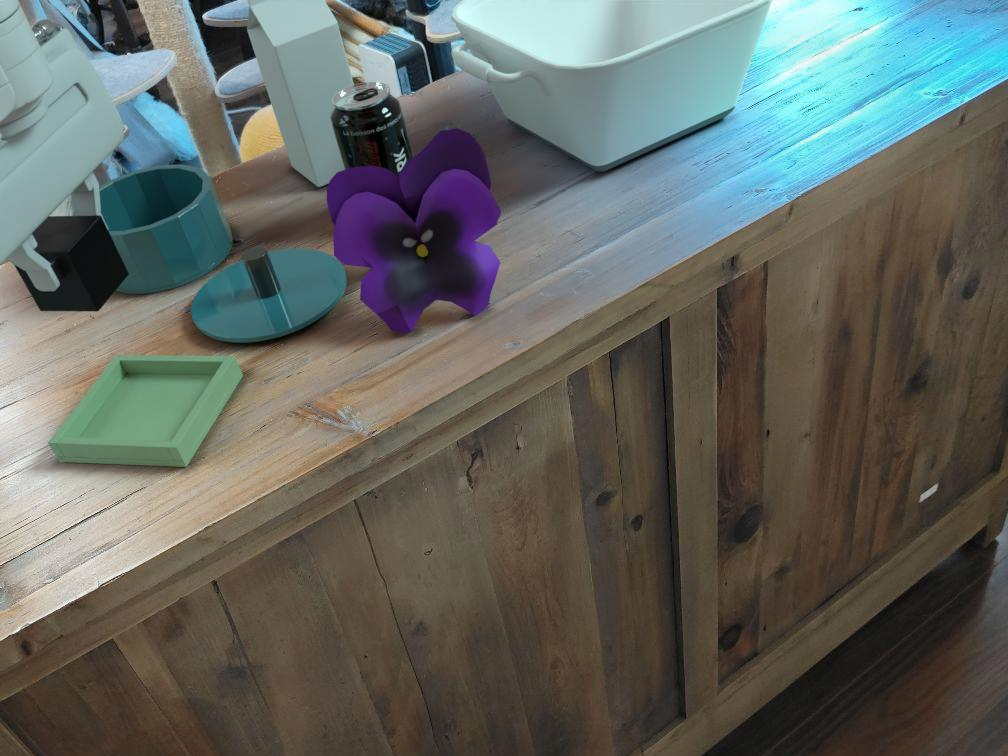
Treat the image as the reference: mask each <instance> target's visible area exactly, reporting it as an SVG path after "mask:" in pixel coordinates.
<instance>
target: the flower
mask: <svg viewBox="0 0 1008 756" xmlns="http://www.w3.org/2000/svg"><path fill="white" fill-rule="evenodd" d="M491 189H492V180H491V175H490V169H489V166H488V162H487V159H486V154H485V153H484V151H483V148H482V147H481V145H480V143H479V141H477V139H476V138H475V137H474V136H473V135H472V134H471V133H470V132H467V131H465V130H463V129H462V128H461V129H460V128H458V127H455V128H449V129H443V130H440V131H439V132H437V134H436V135H435V136H434V137H433V138H432V139H431V140H430V141H429V142H428V143H427V144H426V145H425V146H424V147H423V148H422V149H421V150H420V151H419V152H418V153H416V154H415V155H413V158H411V159H410V160H409V161H407V162H406V163H405V165H404V166H403V168H402V170H401V171H400V173H399V176H398V175H396V174H395V173H393V172H391V171H390V170H388V169H386V168H382V167H376V166H364V167H353V168H349V169H346V170H343V171H340V172H337V173H336V174H335V175H334V176H333V178H332V179H331V180H330V182H329V183H328V184H327V188H326V198H325V199H326V204H327V208H328V213H329V215H330V218H331V221H332V224H333V225H334V228H333V231H332V237H333V239H332V240H333V242H332V243H333V257H335V258H336V259H337V260H339V262H340V263H341V264H342V265H343V266H349V267H359V268H367V269H370V270H369V271H368V272H367V273H366V274H365V275H364V276H363V277H362V278H360V297H359V300H360V301H361V302H362V303H363V304H364V305H365V306H366V307H367V308H368V309H370V310H371V311H372V312H373V313H374V314H375V315H376V316H377V317H378V318H379V319H380V320H382V322H384V324H385V325H386V326H387V327H388V329H390V330H391V332H393V333H399V334H410V333H412V332H413V330H414V328H415V326H416V324H417V322H418V320H419V318H420V317H421V316H422V313H423V312H424V310H425V309H426V308H428V307H429V306H431V305H432V304H433V303H434V302H435V301H440V302H441V301H442V302H448V303H452V304H453V305H456V306H458V307H459V308H461V309H463V310H464V311H466V312H467V313H469V314H470V315H472V316H476V315H479V314H481V313H482V312H483V311H484V310H485V309H486V308H487V307H489V304H490V299H491V293H492V291H493V289H494V285H495V282H496V280H497V276H498V272H499V269H500V266H501V261H500V259H499V258H498V256H497V255H496V253H495V252H494V250H493V248H492V247H491V245H489V244H485V243H482V242H479V241H477V240H478V239H480V238H481V237H482V236H483V235H485V234H486V233H488V232H489V231H490V230H492V229H493V228H495V227H496V226H497V225H498V223H499V219H500V216H501V213H502V210H501V208H500V206H499V205H498V202H497V200H496V198H495V197H494V195H493V192H492V191H491Z"/></svg>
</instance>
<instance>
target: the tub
mask: <svg viewBox="0 0 1008 756" xmlns="http://www.w3.org/2000/svg"><path fill="white" fill-rule="evenodd" d="M772 2H773V0H461V1H459V2H458V3H457V4H456V5H455V6H454V7H453V8H452V9H451V15H450V20H451V21H452V22H453V23H454V24H455V27H456V28H457V30H458V31H459V33H460V35H461V37H462V38H463V40H464V42H463V43H461V44H458V45H456V46H454V47H453V48H452V50H451V58H452V59H453V60H454V62H455V65H456V66H457V67H458V68H459V69H461V70H462V71H464V72H465V73H467V74H469V75H471V76H473V77H475V78H477V79H478V80H481V81H484V82H486V83H487V85H488V87H489V89H490V90H491V93H492V94H493V96H494V97H495V100H496V101H497V103H498V105H499V107H500V109H501V110H502V112H503V114H504V116H505V117H506V118H507V120H508V122H509V123H511V124H512V125H514V126H516V127H518V128H519V129H521V130H523V131H525V132H526V133H528V134H530V135H532V136H533V137H536V138H537V139H539V140H541V141H543V142H545V143H546V144H547V145H550V146H551V147H553V148H555V149H557V150H559V151H560V152H562V153H563V154H565V155H567V156H569V157H571V158H572V159H574V160H576V161H578V162H579V163H581V164H583V165H585V166H587V167H588V168H590V169H592V170H594V171H596V172H597V173H599V172H600V173H601V172H602V173H603V172H606V171H608V170H611V169H614V168H615V167H617V166H619V165H622V164H624V163H627V162H628V161H630V160H633V159H635V158H637V157H639V156H642V155H644V154H646V153H649V152H650V151H653V150H655V149H657V148H659V147H662V146H664V145H666V144H668V143H671V142H673V141H675V140H677V139H679V138H682V137H684V136H686V135H689V134H690V133H693V132H695V131H697V130H699V129H701V128H704V127H706V126H708V125H710V124H712V123H714V122H717V121H719V120H721V119H723V118H726V117H727V116H729V115H730V114H732V112H733V111H734V110H735V109H736V106H737V104H738V100H739V98H740V96H741V95H740V94H741V92H742V90H743V86H744V83H745V81H746V77H747V74H748V72H749V68H750V65H751V63H752V60H753V58H754V54H755V51H756V48H757V45H758V43H759V39H760V37H761V34H762V31H763V28H764V26H765V22H766V20H767V17H768V14H769V11H770V8H771V5H772ZM468 50H469V52H470V53H469V52H467V51H468Z"/></svg>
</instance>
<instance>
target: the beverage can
mask: <svg viewBox="0 0 1008 756" xmlns="http://www.w3.org/2000/svg"><path fill="white" fill-rule="evenodd" d="M332 103H333V105H334V106H335V107H334V110H333V111H332V113H331V123H332V127H333V131H334V134H335V138H336V141H337V144H338V148H339V151H340V155H341V158H342V162H343V165H344V169H345V170H346V169H349V168H353V167H364V166H376V167H382V168H386V169H388V170H390V171H391V172H393V173H395V174H396V175H398V176H399V173H400V171H401V170H402V168H403V166H404V165H405V163H406V162H407V161H409V160H410V159H411V158H413V157H414V155H413V152H412V148H411V144H410V138H409V135H408V130H407V126H406V122H405V118H404V114H403V110H402V105H401V103H400V100H399V99H398V98H397V97H395V96H394V95H392V94H391V89H390V86H389V85H388V84H386V83H384V82H379V81H365V82H360V83H354V85H352V86H349V87H346V88H344V89H342V90H341V91H339V92H338V93H336V94H335V95H334V97H333V99H332Z"/></svg>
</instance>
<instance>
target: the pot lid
mask: <svg viewBox="0 0 1008 756" xmlns="http://www.w3.org/2000/svg"><path fill="white" fill-rule="evenodd" d="M240 258H241V260H239V261H237V262H235V263H233V264H231V265H229V266H227V267H225V268H224V269H222V270H221V271H219V272H218V273H216V274H215V275H214V276H212V277H211V278H210V279H208V280H207V282H205V283H204V284H203V285H202V286H201V287H200V288H199V290H198V291H197V293H196V295H195V296H194V298H193V300H192V302H191V307H190V314H191V315H190V316H191V318H192V321H193V323H194V325H195V326H196V328H197V330H199V331H200V332H201V333H202V334H203V335H205V336H206V337H209V338H212V339H213V340H216V341H221V342H227V343H238V344H239V343H240V344H241V343H242V344H243V343H244V344H245V343H256V342H264V341H268V340H272V339H277V338H280V337H284V336H286V335H289V334H293V333H294V332H297V331H299V330H302V329H304V328H306V327H308V326H310V325H311V324H313V323H315V322H316V321H318V320H319V319H321V318H322V317H324V316H325V315H326V314H328V313H329V312H330V311H331V310H332V309H334V308H335V307H336V305H337V304H338V303H339V302H340V300H341V299H342V297H343V296H344V294H345V291H346V288H347V285H348V276H347V272H346V269H345V267H344V264H343V263H342V262H341V261H339V260H338V259H337V258H336V257H335V256H334V255H332V254H330V253H327V252H324V251H321V250H318V249H311V248H310V249H309V248H284V249H277V250H271V251H268V249H267V247H265V246H262V245H257V246H252V247H249V248H247V249H245V250H244V251H243V252H242V253H241V255H240Z"/></svg>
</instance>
